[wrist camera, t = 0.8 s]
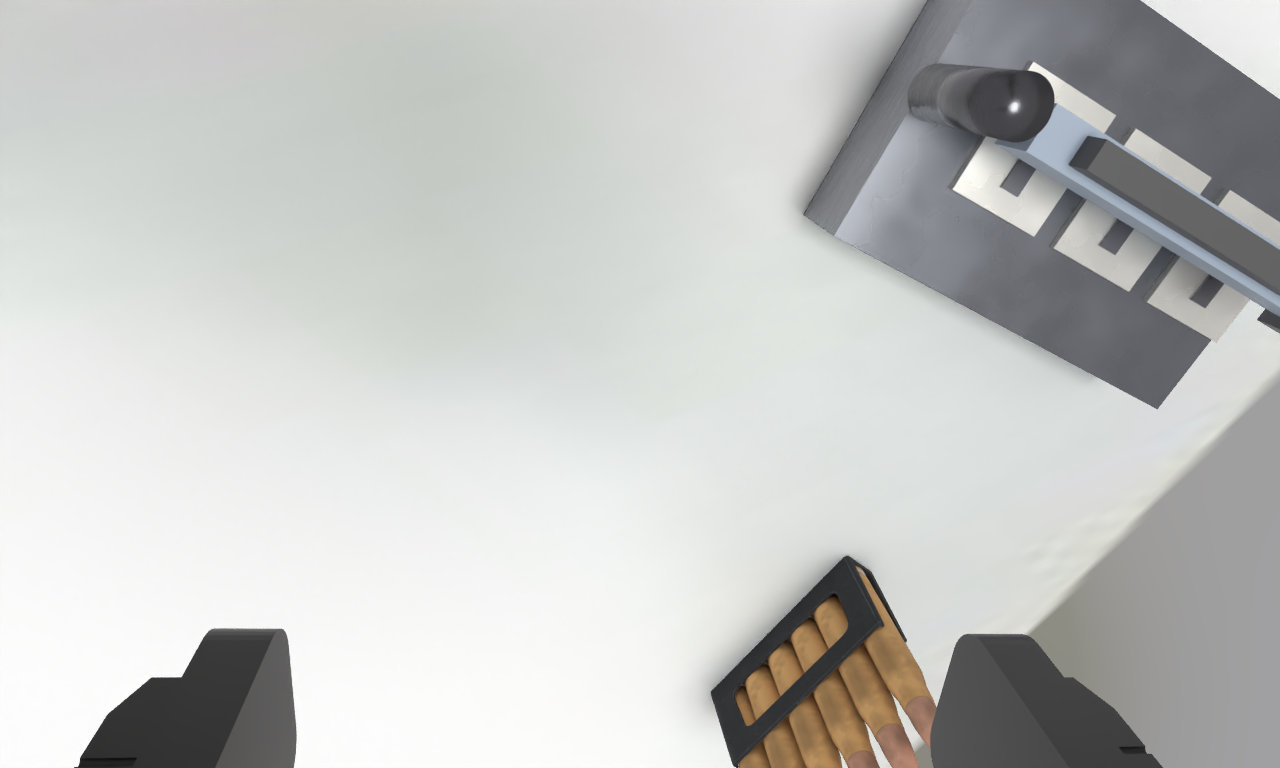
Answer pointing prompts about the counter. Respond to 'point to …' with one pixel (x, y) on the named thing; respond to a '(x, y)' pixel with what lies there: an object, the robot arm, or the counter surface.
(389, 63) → the counter surface
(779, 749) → the ammunition clip
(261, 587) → the counter surface
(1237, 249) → the bar
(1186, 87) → the grey block
